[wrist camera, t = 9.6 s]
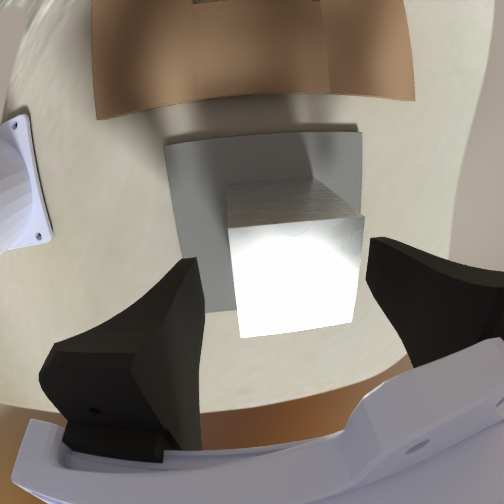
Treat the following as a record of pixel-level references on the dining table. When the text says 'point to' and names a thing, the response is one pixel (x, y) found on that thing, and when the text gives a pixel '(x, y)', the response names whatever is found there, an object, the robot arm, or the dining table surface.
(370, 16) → the walnut hole plate
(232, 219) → the steel plug
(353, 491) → the robot arm
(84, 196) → the dining table surface
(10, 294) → the dining table surface
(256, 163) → the gray square plate
